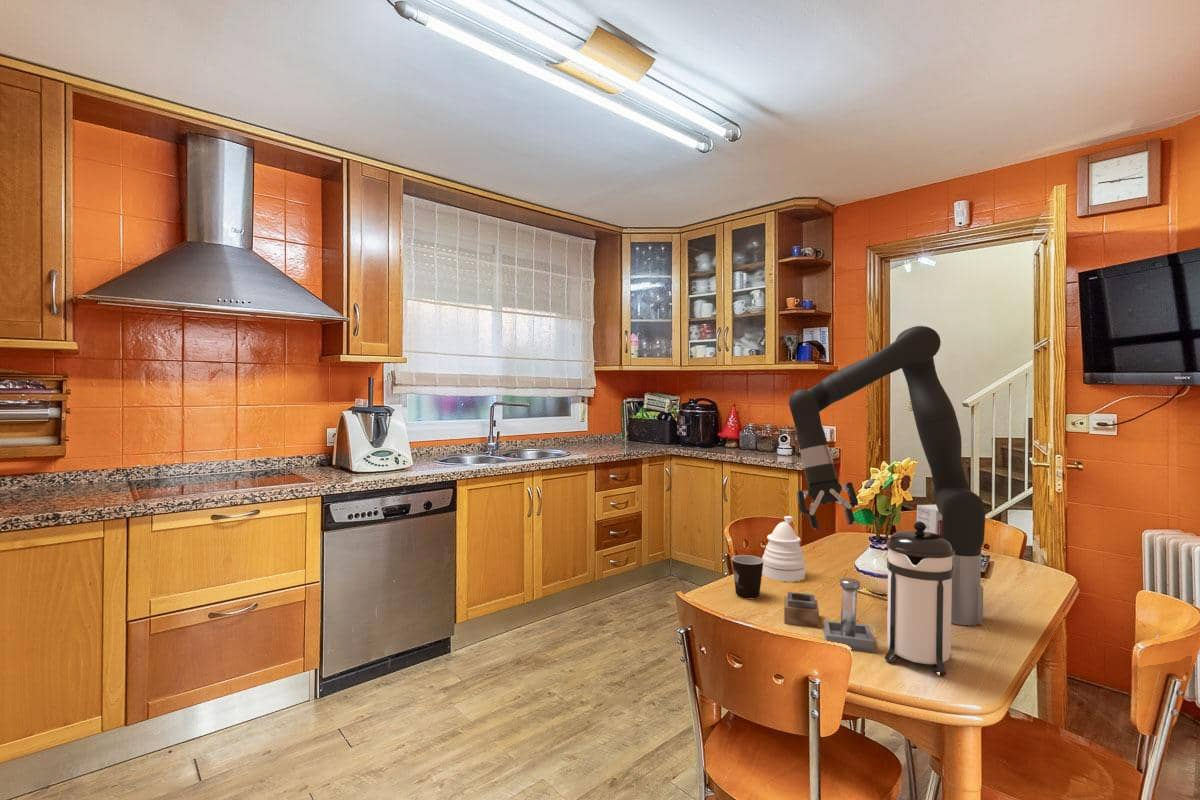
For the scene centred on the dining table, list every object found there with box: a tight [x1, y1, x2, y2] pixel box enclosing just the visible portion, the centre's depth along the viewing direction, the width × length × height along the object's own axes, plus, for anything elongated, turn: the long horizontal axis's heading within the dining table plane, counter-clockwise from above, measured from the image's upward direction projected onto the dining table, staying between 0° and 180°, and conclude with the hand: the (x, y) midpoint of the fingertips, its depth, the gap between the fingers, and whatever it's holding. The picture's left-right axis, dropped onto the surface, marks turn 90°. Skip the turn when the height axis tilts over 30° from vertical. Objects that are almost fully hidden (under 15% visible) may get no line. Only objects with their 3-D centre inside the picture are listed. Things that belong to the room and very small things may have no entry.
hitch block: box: [783, 591, 820, 628], centre depth 147 cm, size 8×8×6 cm
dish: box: [823, 619, 876, 653], centre depth 134 cm, size 10×9×2 cm
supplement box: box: [916, 504, 942, 536], centre depth 202 cm, size 10×9×17 cm
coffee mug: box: [731, 554, 764, 599], centre depth 165 cm, size 12×9×10 cm
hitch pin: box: [839, 577, 861, 637], centre depth 134 cm, size 4×4×13 cm
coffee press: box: [884, 521, 955, 676], centre depth 126 cm, size 17×16×30 cm
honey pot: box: [761, 515, 806, 583], centre depth 180 cm, size 13×13×18 cm
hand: (833, 527), depth 148 cm, fingers open, 8 cm apart
